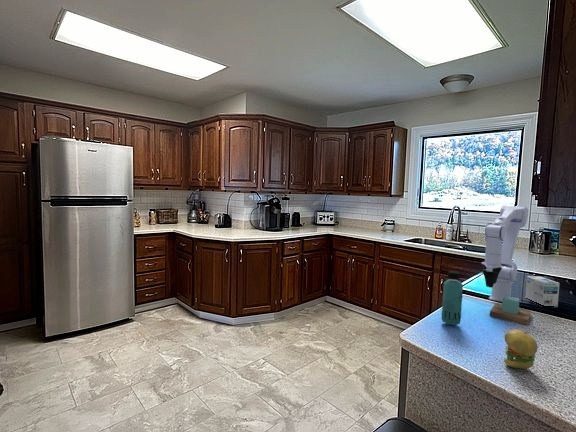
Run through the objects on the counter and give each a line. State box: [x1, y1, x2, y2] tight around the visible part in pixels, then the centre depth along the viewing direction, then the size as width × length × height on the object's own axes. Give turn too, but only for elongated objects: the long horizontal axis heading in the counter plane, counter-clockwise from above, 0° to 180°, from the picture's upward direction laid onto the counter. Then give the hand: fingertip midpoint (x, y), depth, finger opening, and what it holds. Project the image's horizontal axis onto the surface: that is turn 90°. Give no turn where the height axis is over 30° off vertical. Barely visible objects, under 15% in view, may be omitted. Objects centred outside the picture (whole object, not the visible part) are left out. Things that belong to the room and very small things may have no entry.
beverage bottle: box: [441, 270, 464, 326], centre depth 115 cm, size 6×7×20 cm
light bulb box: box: [525, 275, 561, 308], centre depth 141 cm, size 11×7×11 cm, turn 179°
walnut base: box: [489, 302, 532, 326], centre depth 125 cm, size 12×12×2 cm
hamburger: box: [503, 329, 538, 369], centre depth 88 cm, size 8×7×12 cm
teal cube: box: [501, 296, 520, 314], centre depth 125 cm, size 5×5×5 cm
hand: (491, 285), depth 134 cm, fingers open, 7 cm apart
